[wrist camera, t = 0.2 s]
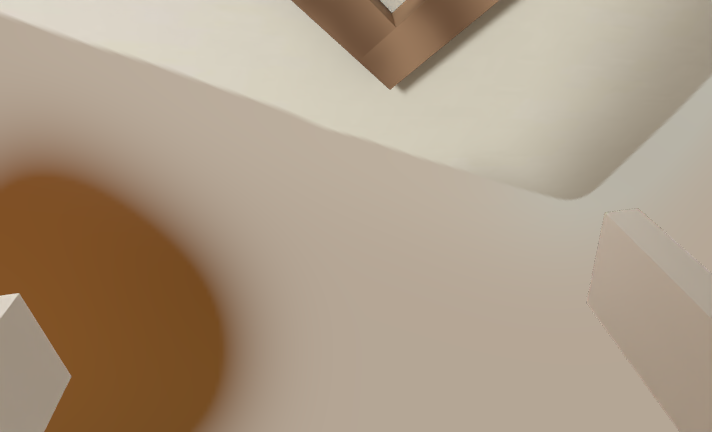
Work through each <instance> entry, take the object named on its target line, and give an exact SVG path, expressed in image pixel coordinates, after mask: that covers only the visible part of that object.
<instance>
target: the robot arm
mask: <svg viewBox="0 0 712 432" xmlns="http://www.w3.org/2000/svg"><path fill="white" fill-rule="evenodd" d="M586 303H587V305H588V306H589V308H590V309H591V310H592V312H593V313H594V315H595V316H596V317H597V319H598V320H599V322H601V324H602V326H603V327H604V328H605V330H606V331H607V332H608V334H609V335H610V337H611V338H612V339H613V341H614V342H615V344H616V345H617V346H618V348H619V349H620V350H621V352H622V353H623V354H624V356H625V357H626V359H627V360H628V361H629V363H630V364H631V366H632V367H633V368H634V370H635V371H636V372H637V374H638V375H639V377H640V378H641V379H642V381H643V382H644V383H645V385H646V386H647V388H648V389H649V390H650V392H651V393H652V395H653V396H654V397H655V398H656V400H657V402H658V403H659V404H660V406H661V407H662V408H663V410H664V411H665V413H666V414H667V415H668V417H669V418H670V419H671V421H672V422H673V424H674V425H675V426H676V428H677V429H678V431H679V432H712V273H711V272H710V271H709V270H708V269H706V268H705V267H704V266H703V265H702V264H701V263H700V262H699V261H697V260H696V259H695V258H694V257H693V256H692V255H691V254H689V253H688V252H687V251H686V250H685V249H684V248H683V247H682V246H680V245H679V244H678V243H677V242H676V241H675V240H674V239H672V238H671V237H670V236H669V235H668V234H667V233H666V232H664V231H663V230H662V229H661V228H660V227H659V226H658V225H657V224H656V223H654V222H653V221H652V220H651V219H650V218H649V217H648V216H646V215H645V214H644V213H643V212H642V211H641V210H640V209H638V208H635V209H627V210H620V211H612V212H606V213H605V214H604V219H603V224H602V229H601V234H600V238H599V243H598V248H597V253H596V258H595V263H594V267H593V272H592V277H591V282H590V287H589V291H588V296H587V301H586ZM70 378H71V375H70V374H69V372H68V370H67V369H66V367H65V366H64V364H63V362H62V361H61V359H60V358H59V356H58V354H57V353H56V351H55V350H54V348H53V346H52V345H51V343H50V342H49V340H48V338H47V337H46V335H45V334H44V332H43V330H42V329H41V327H40V326H39V324H38V323H37V321H36V319H35V318H34V316H33V315H32V313H31V311H30V310H29V308H28V307H27V305H26V304H25V302H24V300H23V299H22V297H21V296H20V294H19V293H17V294H10V295H3V296H0V432H44V430H45V428H46V426H47V424H48V422H49V420H50V418H51V416H52V414H53V412H54V410H55V408H56V406H57V404H58V402H59V400H60V398H61V396H62V394H63V392H64V390H65V388H66V386H67V384H68V382H69V380H70Z"/></svg>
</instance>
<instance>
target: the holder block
mask: <svg viewBox="0 0 712 432" xmlns="http://www.w3.org/2000/svg"><path fill="white" fill-rule="evenodd" d="M292 1H293V2H294V3H295V4H296V5H297V6H298V7H299V8H300V9H302V10H303V11H304V12H305V13H306V14H307V15H308V16H309V17H310V18H311V19H313V20H314V21H315V22H316V23H317V24H318V25H319V26H320V27H321V28H322V29H324V30H325V31H326V32H327V33H328V34H329V35H330V36H331V37H332V38H333V39H335V40H336V41H337V42H338V43H339V44H340V45H341V46H342V47H343V48H344V49H346V50H347V51H348V52H349V53H350V54H351V55H352V56H353V57H354V58H355V59H357V60H358V61H359V62H360V63H361V64H362V65H363V66H364V67H365V68H366V69H368V70H369V71H370V72H371V73H372V74H373V75H374V76H375V77H376V78H377V79H379V80H380V81H381V82H382V83H383V84H384V85H385V86H386V87H387V88H388V89H392V88H393V87H394V86H395V85H396V84H398V83H399V82H400V81H401V80H403V79H404V78H405V77H406V76H407V75H409V74H410V73H411V72H412V71H414V70H415V69H416V68H417V67H418V66H420V65H421V64H422V63H423V62H425V61H426V60H427V59H428V58H429V57H431V56H432V55H433V54H434V53H436V52H437V51H438V50H439V49H440V48H442V47H443V46H444V45H445V44H447V43H448V42H449V41H450V40H451V39H453V38H454V37H455V36H456V35H458V34H459V33H460V32H461V31H462V30H464V29H465V28H466V27H467V26H469V25H470V24H471V23H472V22H473V21H475V20H476V19H477V18H478V17H480V16H481V15H482V14H483V13H484V12H486V11H487V10H488V9H489V8H491V7H492V6H493V5H494V4H495V3H497V2H498V1H499V0H406V1H405V2H404V3H403V4H402V5H401V6H399V7H398V8H397V9H396V10H395V11H394V12H393V13H391V12H390V11H389V10H388V9H387V8H386V7H385V6H384V4H383V3H382V2H381V1H380V0H292Z"/></svg>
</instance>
